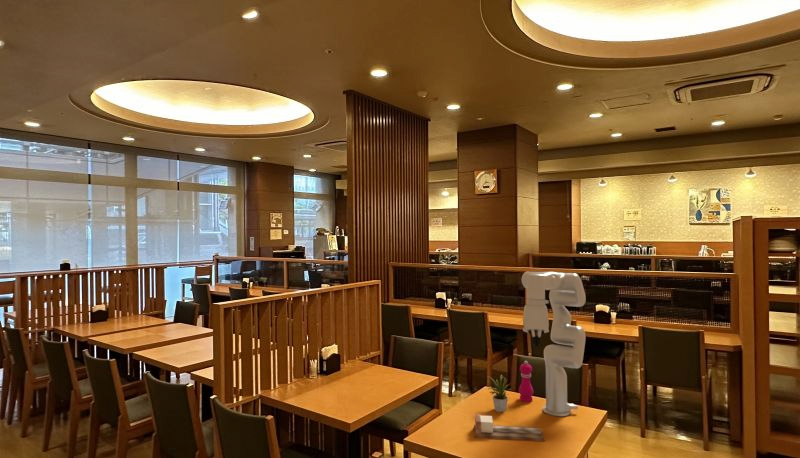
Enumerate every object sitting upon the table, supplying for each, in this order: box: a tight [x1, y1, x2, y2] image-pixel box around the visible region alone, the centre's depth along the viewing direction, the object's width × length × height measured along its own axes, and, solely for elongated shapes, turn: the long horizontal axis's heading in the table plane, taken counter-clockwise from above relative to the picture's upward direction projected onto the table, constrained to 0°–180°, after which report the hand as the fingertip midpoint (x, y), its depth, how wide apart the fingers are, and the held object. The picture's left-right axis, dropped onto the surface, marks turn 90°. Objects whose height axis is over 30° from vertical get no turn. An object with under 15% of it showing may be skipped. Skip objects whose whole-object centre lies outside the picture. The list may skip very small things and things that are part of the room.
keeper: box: [480, 414, 494, 433], centre depth 193 cm, size 5×7×4 cm
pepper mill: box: [518, 360, 534, 403], centre depth 232 cm, size 7×7×20 cm
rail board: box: [473, 413, 545, 442], centre depth 192 cm, size 28×10×6 cm, turn 83°
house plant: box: [487, 374, 512, 413], centre depth 220 cm, size 14×14×16 cm
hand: (535, 345), depth 193 cm, fingers closed
